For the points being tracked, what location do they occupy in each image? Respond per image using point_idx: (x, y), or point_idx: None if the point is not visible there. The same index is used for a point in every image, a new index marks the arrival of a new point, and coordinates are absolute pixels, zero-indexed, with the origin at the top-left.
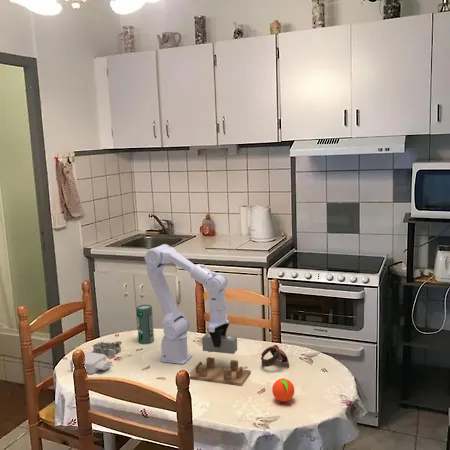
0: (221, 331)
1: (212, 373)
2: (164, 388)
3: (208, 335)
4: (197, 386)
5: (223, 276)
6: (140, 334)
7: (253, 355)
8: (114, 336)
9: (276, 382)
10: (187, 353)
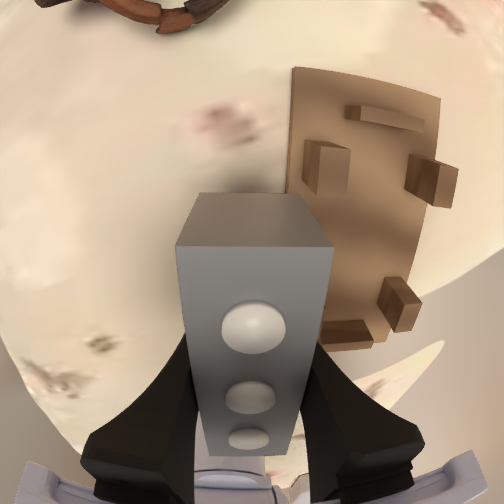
0: (417, 436)
1: (365, 262)
2: (435, 355)
3: (251, 448)
4: (439, 278)
5: None
6: None
7: (60, 137)
8: None
9: None
10: None
